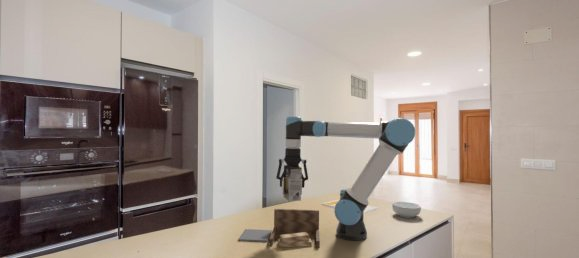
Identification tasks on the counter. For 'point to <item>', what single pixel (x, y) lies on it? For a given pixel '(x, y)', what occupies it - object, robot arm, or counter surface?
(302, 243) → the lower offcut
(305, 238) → the upper offcut
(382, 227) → the counter surface
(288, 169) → the coffee box
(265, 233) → the slate mat
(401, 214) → the cereal bowl
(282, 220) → the walnut rack
